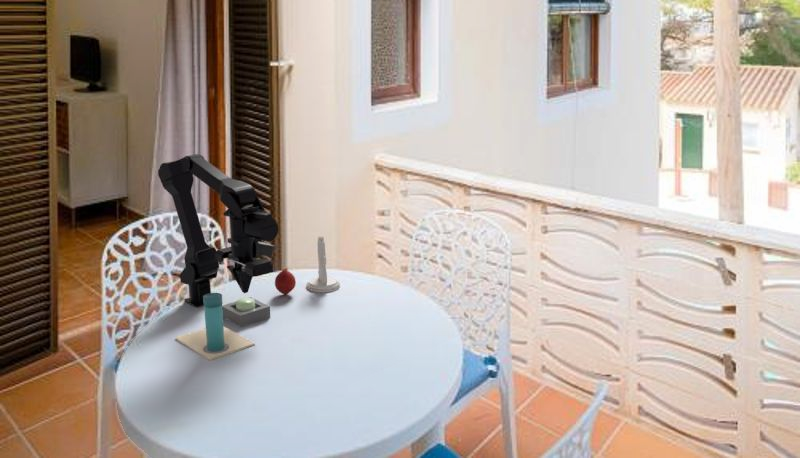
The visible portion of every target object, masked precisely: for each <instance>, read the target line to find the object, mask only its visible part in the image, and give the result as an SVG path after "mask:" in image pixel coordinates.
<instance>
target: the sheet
mask: <svg viewBox="0 0 800 458" xmlns="http://www.w3.org/2000/svg"><path fill="white" fill-rule="evenodd" d="M174 338H175V339H174V340H176V341H178V342H179V343H181V344H183V345H184V346H186V347H187V348H189V349H191V350H192V351H194V352H196V353H197V354H199V355H200V356H202V357H204V358H205V359H207V360H208V361H213V360H215V359H218V358H220V357H224V356H226V355H230V354H232V353H236V352H238V351H241V350H243V349H247V348H249V347H252V346H255V345H256V343H255V342H253V341H252V340H250V339H248V338H246V337H244V336H242V335H240V334H239V333H237V332H235V331H234V330H232V329H229V328H228V327H226V326H224V342H225V348H224V349H223V350H221V351H217V352H211V351H208V350H207V339H206V327H205V328H202V329H198V330H195V331H191V332H189V333H185V334H182V335H179V336H175V337H174Z"/></svg>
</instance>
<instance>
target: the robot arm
mask: <svg viewBox="0 0 800 458" xmlns="http://www.w3.org/2000/svg"><path fill="white" fill-rule="evenodd" d="M157 176H158V178H159V179H160V183H161V184H162V187H163V189H164V190H165V191H166V192H168V194H170V195H171V197H172V200H173V204H174V207H175V211H176V213H177V216H178V220H179V224H180V227H181V230H182V235H183V239H184V241H185V244H186V250H185V255H184V258H183V259H184V265H185V267H184V268H183V269H182V271H181V272H180V273H179V275H178V277H179V280H180V282H181V283H182V284H185V285H188V286H187V287H188V297H187V298H184V299H183V300H184V302H186V303H187V304H189V305H192V306H193V307H200V306H204V303H203V296H204V295H205V294H208V293H212V290H211V289H212V288H211V280H212V279H216V278H217V276H218V272H219V268H220V263H223V262H224V260H225V259H227V260H228V261H229V263H228V264H229V265H226V268H227V269H228V271H230V273H231V275H232V277H233V278H234V280H235V281H236V283H237V284H238V286H239V289H240V290H241V292H242V293H243V294H246V293H249V289H250V286H251V282H252V279H253V278H255V277H256V278H257V277H259V276H263V275H267V274H270V273H273V272H274V269H275V267H274V263H273V262H272V261H270V260H269V259H265V258H261V256H263V257H268V258H273V254H274V251H275V247H276V245H273V244H270V243H267V242H272V241H274V240H275V239H276V237H277V235H278V233H279V225H278V223H277V220H275V218H273V217H272V213H269V212H265V211H266V210H265V208H264V205H263V203H262V201H261V200H260V198H259V196H258V194H257V192H256V190H255V188H254V187H253V186H252V185H251V184H249V183H247V182H245V181H243V180H238V179H234V178H232V177H230V176H228V175H227V174H226V173H225V172H223V171H221V170H220V169H218V167H216V166H214V164H212V163H210V162H209V161H208V160H206V159H205V157H204V156H203V155H202V154H198V153H197V154H191V155H185V156H184V157H181V158H180V159H177V160H173V161H167V162H163V163H161V164H160V166H159V169H158V171H157ZM194 177H196V178H197V179H199V180H200V181H201V182H203V183H204V184H205V185H206V186H208V187H209V188H211V190H213V191H215V192H216V193H217V194H218V197H219V201H220V202H221V203H222V204H223V205H224V206H225V208H227V210H225V211H224V212H223V216H225V217H229V232H230V235H229V236H230V238H227V243H228V244H230V246H228V247H223V248H219V249H216V248H215V246H212V247H211V246H210V245H209V244H208V243H207V242H206V240H205V235H204V233H203V232H204V231H203V229H202V225H201V222H200V219H199V214H198V211H197V208H196V205H195V200H194V197H193V194H192V189H193V184H194V180H195V179H194ZM264 241H265V242H264Z"/></svg>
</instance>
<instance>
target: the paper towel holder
mask: <svg viewBox="0 0 800 458" xmlns="http://www.w3.org/2000/svg"><path fill="white" fill-rule="evenodd" d="M325 243H326V242H325V240H324V236H323V235H319V236H318V237H317V258H318V259H317V260H318V271H317V272H318V276H314V277H312V278H310V279H309V280H308V281H307V282H306V284H305V286H306V290H308V291H310V292H315V293H330V292H334V291H337V290H339V289H340V287H341V284H340V281H339V280H338V278H336V277H333V276H331V275H330V276H329V275H328V273H327V255H326V254H327V253H326V244H325Z"/></svg>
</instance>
